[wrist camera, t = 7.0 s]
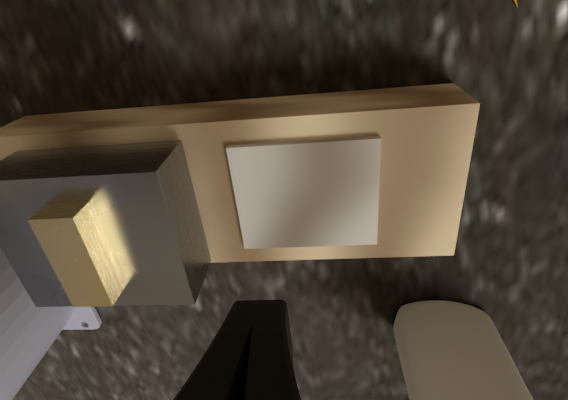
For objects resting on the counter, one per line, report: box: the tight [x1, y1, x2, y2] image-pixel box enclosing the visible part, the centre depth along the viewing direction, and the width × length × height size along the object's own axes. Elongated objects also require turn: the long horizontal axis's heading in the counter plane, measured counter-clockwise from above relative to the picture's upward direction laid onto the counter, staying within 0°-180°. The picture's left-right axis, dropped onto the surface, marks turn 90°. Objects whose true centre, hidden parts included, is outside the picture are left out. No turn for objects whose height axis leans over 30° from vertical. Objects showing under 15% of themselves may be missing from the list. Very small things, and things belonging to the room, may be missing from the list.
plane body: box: [0, 83, 480, 263], centre depth 17 cm, size 20×7×3 cm, turn 95°
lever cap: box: [0, 140, 211, 307], centre depth 15 cm, size 7×6×4 cm
